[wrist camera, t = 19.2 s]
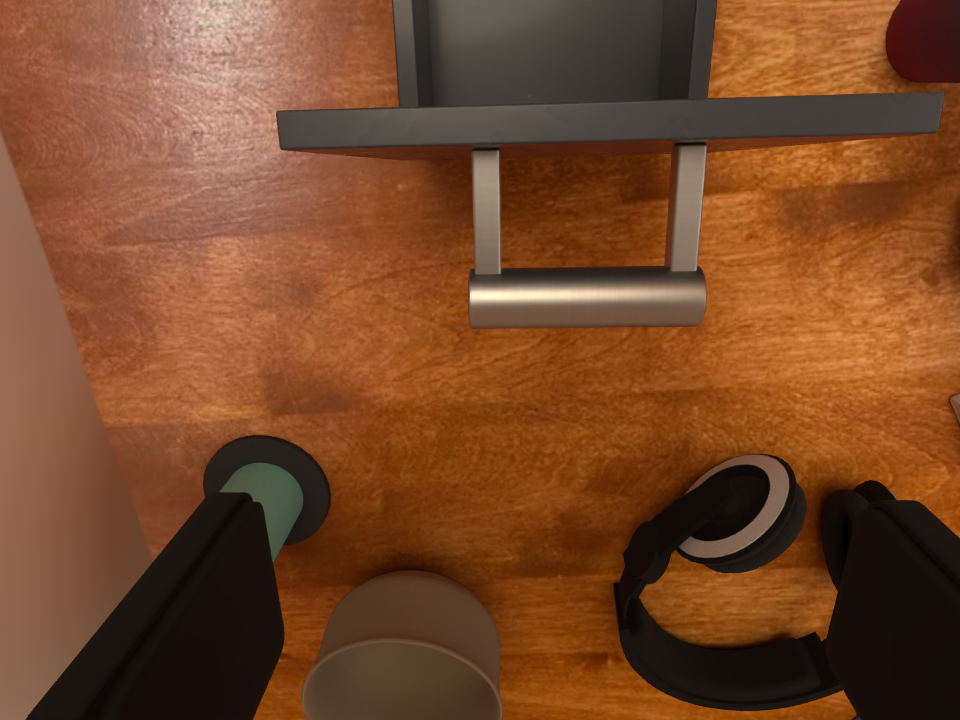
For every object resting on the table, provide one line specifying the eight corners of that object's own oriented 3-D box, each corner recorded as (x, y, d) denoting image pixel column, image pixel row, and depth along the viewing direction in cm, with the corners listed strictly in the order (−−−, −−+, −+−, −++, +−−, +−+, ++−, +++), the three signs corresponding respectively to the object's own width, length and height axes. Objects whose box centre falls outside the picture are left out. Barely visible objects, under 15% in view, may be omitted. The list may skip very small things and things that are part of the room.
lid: (274, 110, 13) (302, 353, 15) (946, 91, 12) (898, 348, 14) (399, 141, 28) (406, 260, 29) (707, 134, 27) (697, 255, 29)
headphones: (1015, 562, 33) (829, 761, 43) (933, 473, 40) (788, 661, 50) (707, 482, 33) (586, 703, 42) (678, 405, 40) (579, 609, 49)
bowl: (345, 657, 49) (308, 782, 40) (334, 527, 45) (288, 634, 35) (501, 665, 49) (500, 792, 40) (506, 533, 44) (505, 643, 35)
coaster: (199, 523, 45) (195, 527, 45) (214, 419, 42) (211, 423, 41) (317, 555, 46) (315, 559, 45) (341, 455, 42) (340, 459, 42)
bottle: (223, 515, 44) (132, 641, 33) (233, 453, 42) (140, 565, 32) (296, 534, 45) (229, 665, 34) (309, 474, 43) (243, 592, 32)
